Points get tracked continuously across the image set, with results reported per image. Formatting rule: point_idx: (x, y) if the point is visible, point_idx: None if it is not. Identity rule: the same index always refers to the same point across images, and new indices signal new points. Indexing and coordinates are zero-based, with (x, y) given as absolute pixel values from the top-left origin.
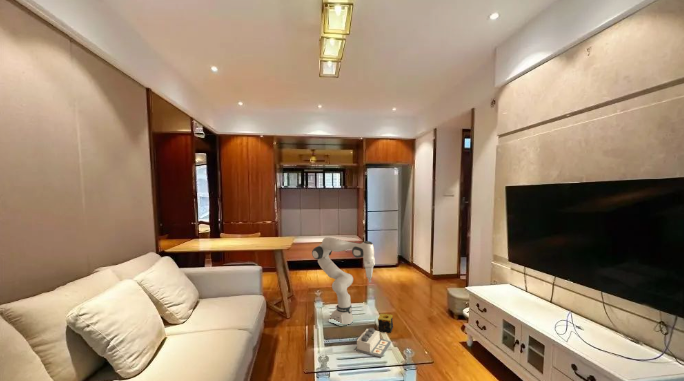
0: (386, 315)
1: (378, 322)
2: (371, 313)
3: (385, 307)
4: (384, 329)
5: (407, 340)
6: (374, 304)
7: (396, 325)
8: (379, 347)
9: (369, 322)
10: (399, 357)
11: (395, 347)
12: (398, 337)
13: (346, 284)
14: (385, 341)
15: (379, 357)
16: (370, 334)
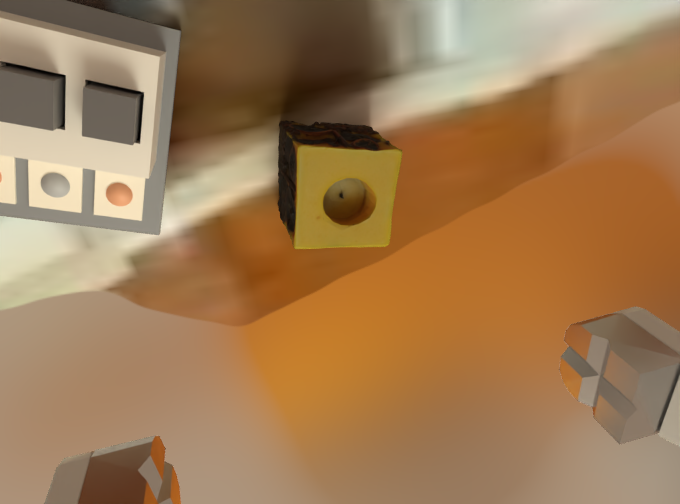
0: (375, 204)
1: (293, 142)
2: (553, 7)
3: (629, 109)
4: (282, 174)
5: (220, 312)
6: None
7: None
8: (41, 179)
9: (409, 18)
10: (18, 305)
11: (117, 265)
12: (240, 262)
13: None
14: (140, 204)
15: None
16: (28, 123)
